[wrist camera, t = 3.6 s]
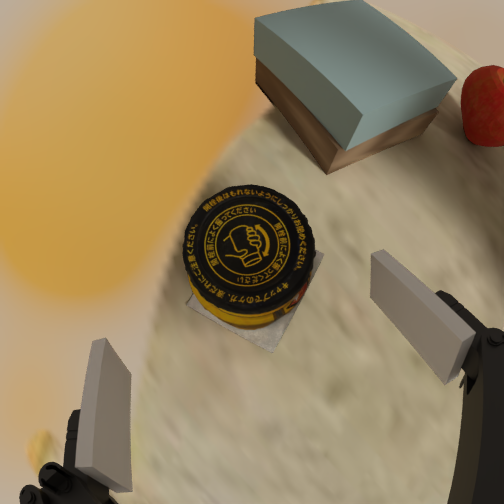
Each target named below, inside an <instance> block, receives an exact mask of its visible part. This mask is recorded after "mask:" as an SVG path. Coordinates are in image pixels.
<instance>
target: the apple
mask: <svg viewBox="0 0 504 504" xmlns="http://www.w3.org/2000/svg"><path fill="white" fill-rule="evenodd" d="M461 110H462V119H463V128H464V132H465V135H466V137H467V138H468V140H469V141H471V142H472V143H474V144H476V145H479V146H485V147H499V146H504V68H502V67H499V66H495V65H491V66H485V67H481V68H479V69H476V70H474V71H473V72H472V73H471V74H470V75H469V76H468V77H467V78H466V80H465V82H464V85H463V88H462V94H461Z"/></svg>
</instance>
